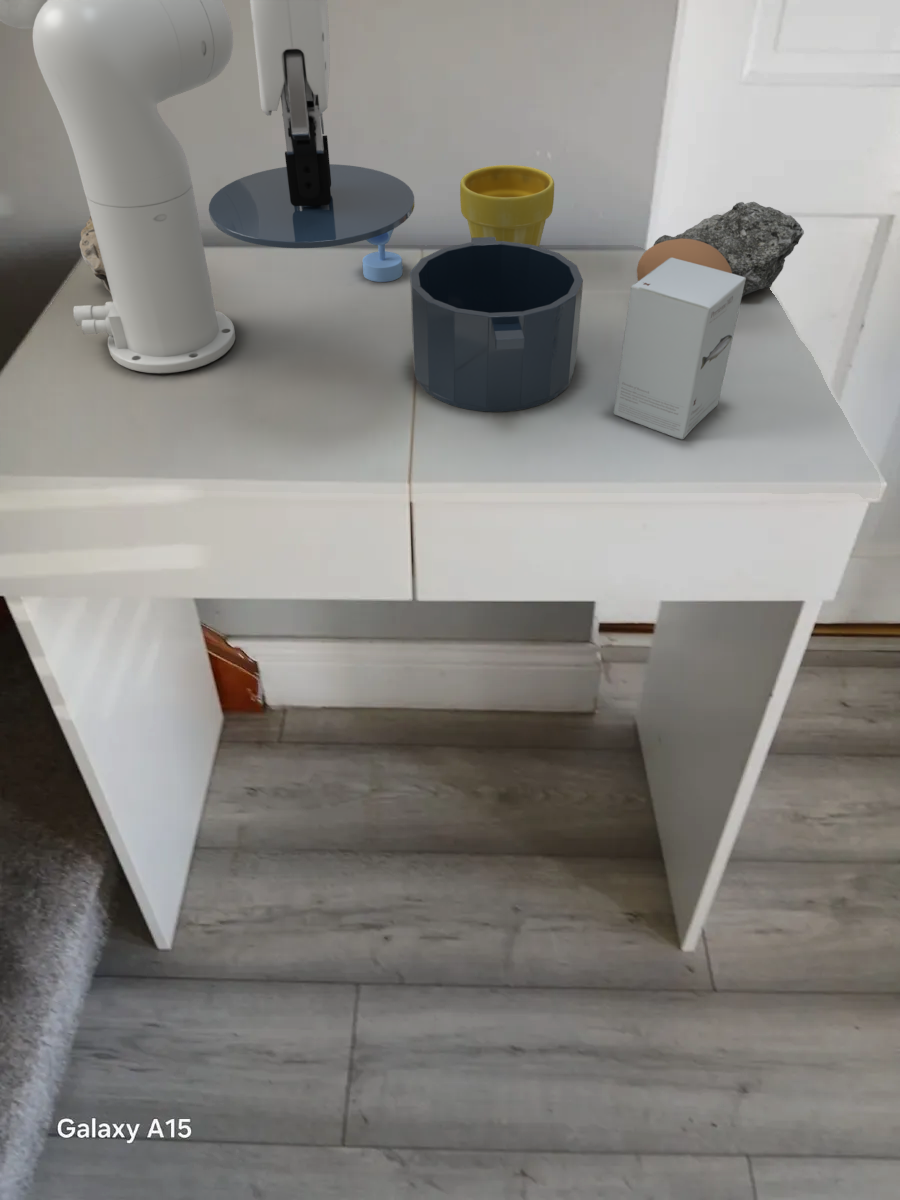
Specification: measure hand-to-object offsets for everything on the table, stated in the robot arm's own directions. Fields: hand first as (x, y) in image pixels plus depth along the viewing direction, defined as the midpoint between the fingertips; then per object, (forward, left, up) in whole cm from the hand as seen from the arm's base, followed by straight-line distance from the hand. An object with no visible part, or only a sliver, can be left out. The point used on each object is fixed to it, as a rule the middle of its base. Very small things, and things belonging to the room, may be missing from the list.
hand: (311, 194), depth 78 cm
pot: (+16, +4, -19) cm, 25 cm away
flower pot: (+20, +27, -19) cm, 38 cm away
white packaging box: (+31, -5, -19) cm, 37 cm away
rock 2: (+41, +18, -13) cm, 47 cm away
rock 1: (-22, +26, -19) cm, 39 cm away
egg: (+40, +10, -15) cm, 44 cm away
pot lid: (0, 0, -1) cm, 1 cm away
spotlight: (+6, +27, -19) cm, 34 cm away
